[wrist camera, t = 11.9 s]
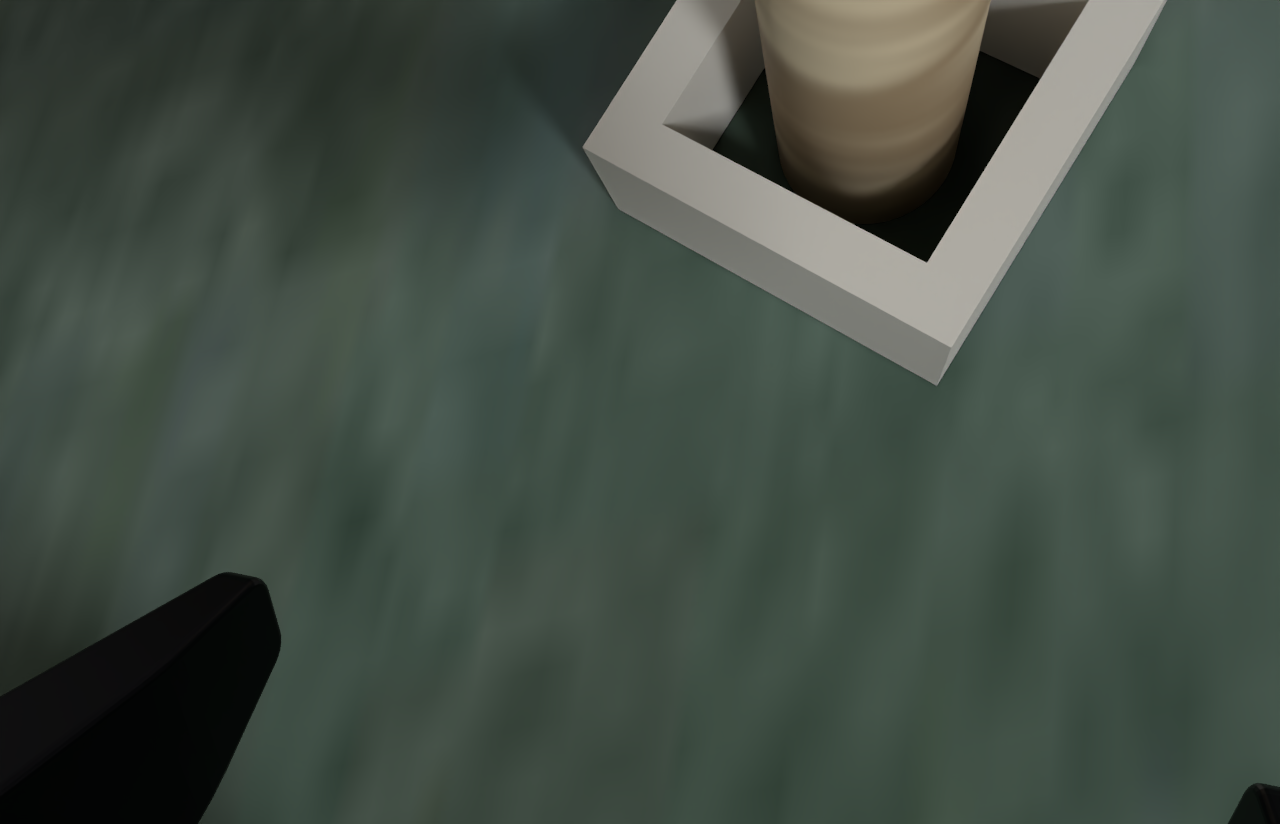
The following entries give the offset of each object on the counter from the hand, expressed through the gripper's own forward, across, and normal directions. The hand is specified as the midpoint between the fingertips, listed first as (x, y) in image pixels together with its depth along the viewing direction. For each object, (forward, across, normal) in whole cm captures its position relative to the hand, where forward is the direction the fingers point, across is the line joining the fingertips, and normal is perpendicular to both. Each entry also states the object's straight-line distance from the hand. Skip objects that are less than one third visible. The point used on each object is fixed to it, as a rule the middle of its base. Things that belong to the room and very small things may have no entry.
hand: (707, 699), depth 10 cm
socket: (+18, 0, +1) cm, 18 cm away
